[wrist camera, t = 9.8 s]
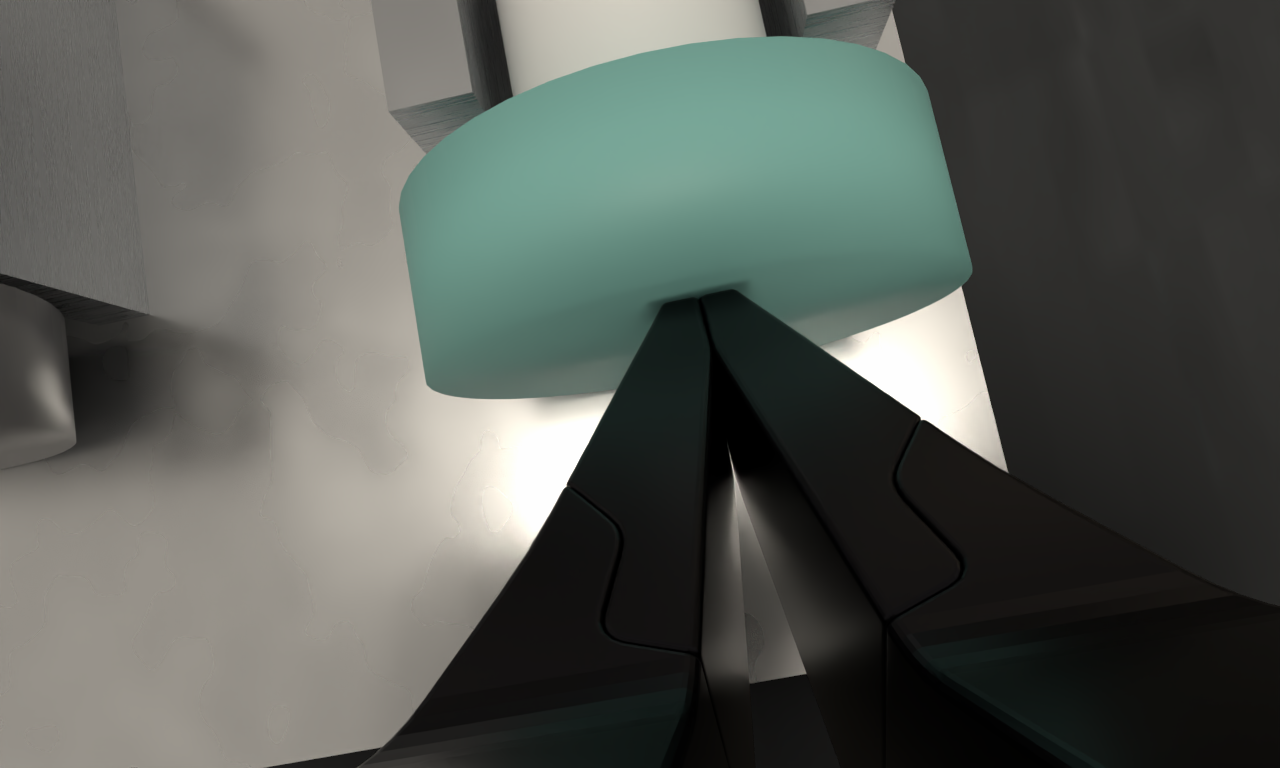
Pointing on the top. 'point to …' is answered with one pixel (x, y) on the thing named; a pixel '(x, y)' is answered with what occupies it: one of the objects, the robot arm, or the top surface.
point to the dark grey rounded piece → (33, 380)
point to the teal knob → (670, 193)
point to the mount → (289, 380)
